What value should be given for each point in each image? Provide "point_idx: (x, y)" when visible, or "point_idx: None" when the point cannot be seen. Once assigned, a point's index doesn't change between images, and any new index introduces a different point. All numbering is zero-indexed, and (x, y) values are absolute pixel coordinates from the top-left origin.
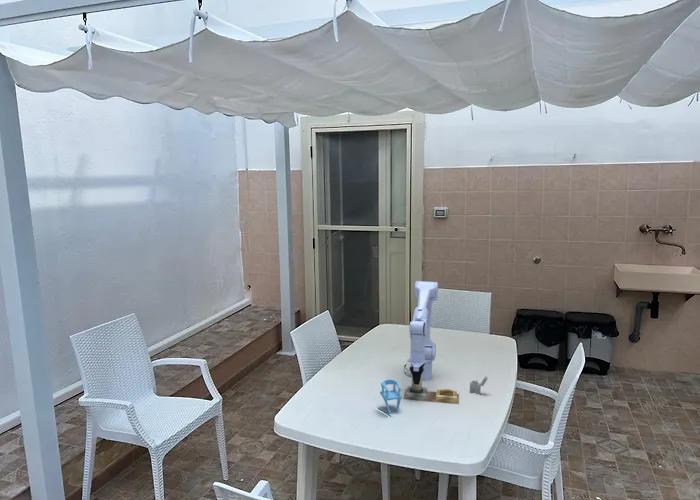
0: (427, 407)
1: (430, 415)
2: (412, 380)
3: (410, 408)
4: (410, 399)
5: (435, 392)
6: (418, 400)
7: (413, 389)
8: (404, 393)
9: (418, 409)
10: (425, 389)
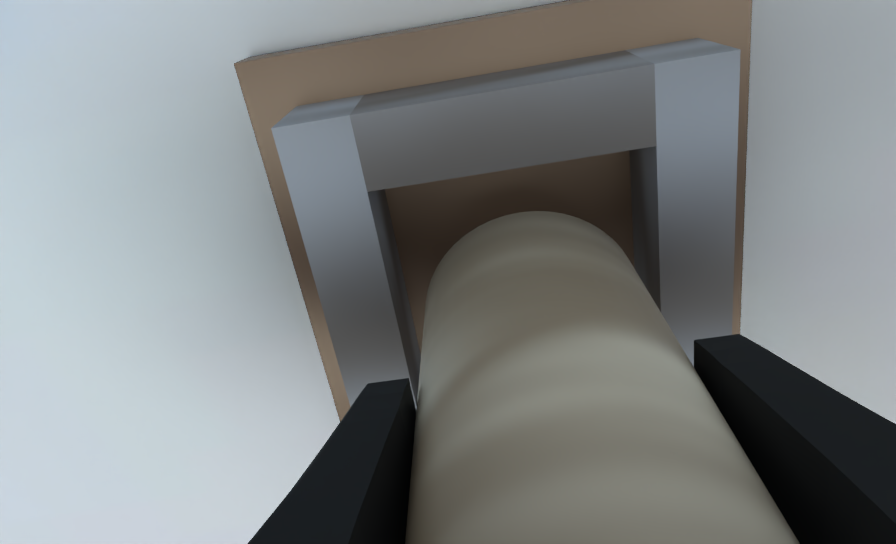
0: (242, 439)
1: (43, 504)
2: (466, 362)
3: (72, 243)
4: (290, 201)
5: None
6: (319, 328)
7: (433, 279)
8: (523, 15)
9: (113, 352)
10: None
